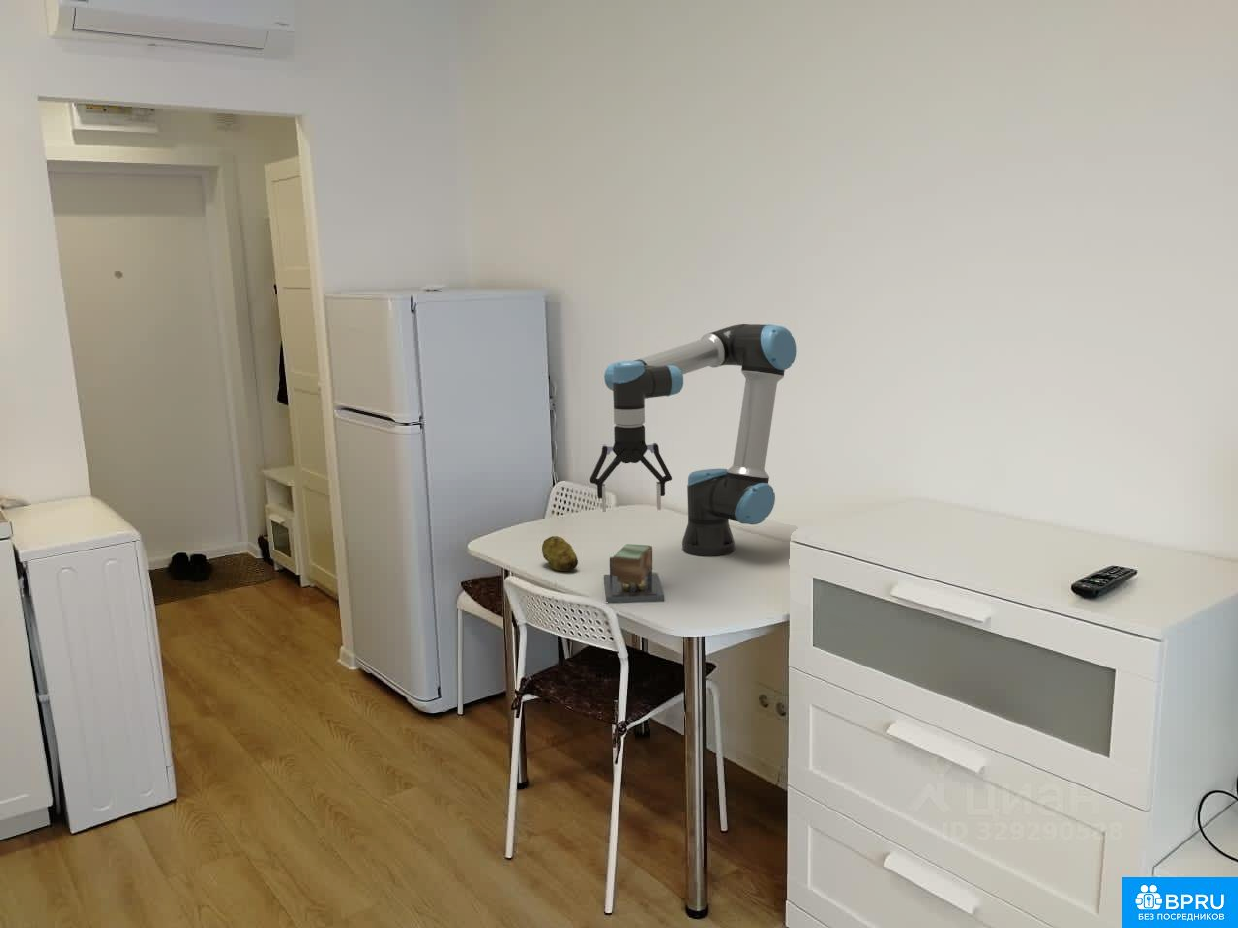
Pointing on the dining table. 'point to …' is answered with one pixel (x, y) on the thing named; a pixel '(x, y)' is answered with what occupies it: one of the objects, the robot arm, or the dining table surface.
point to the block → (632, 563)
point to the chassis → (633, 589)
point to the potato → (559, 554)
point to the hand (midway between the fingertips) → (631, 509)
